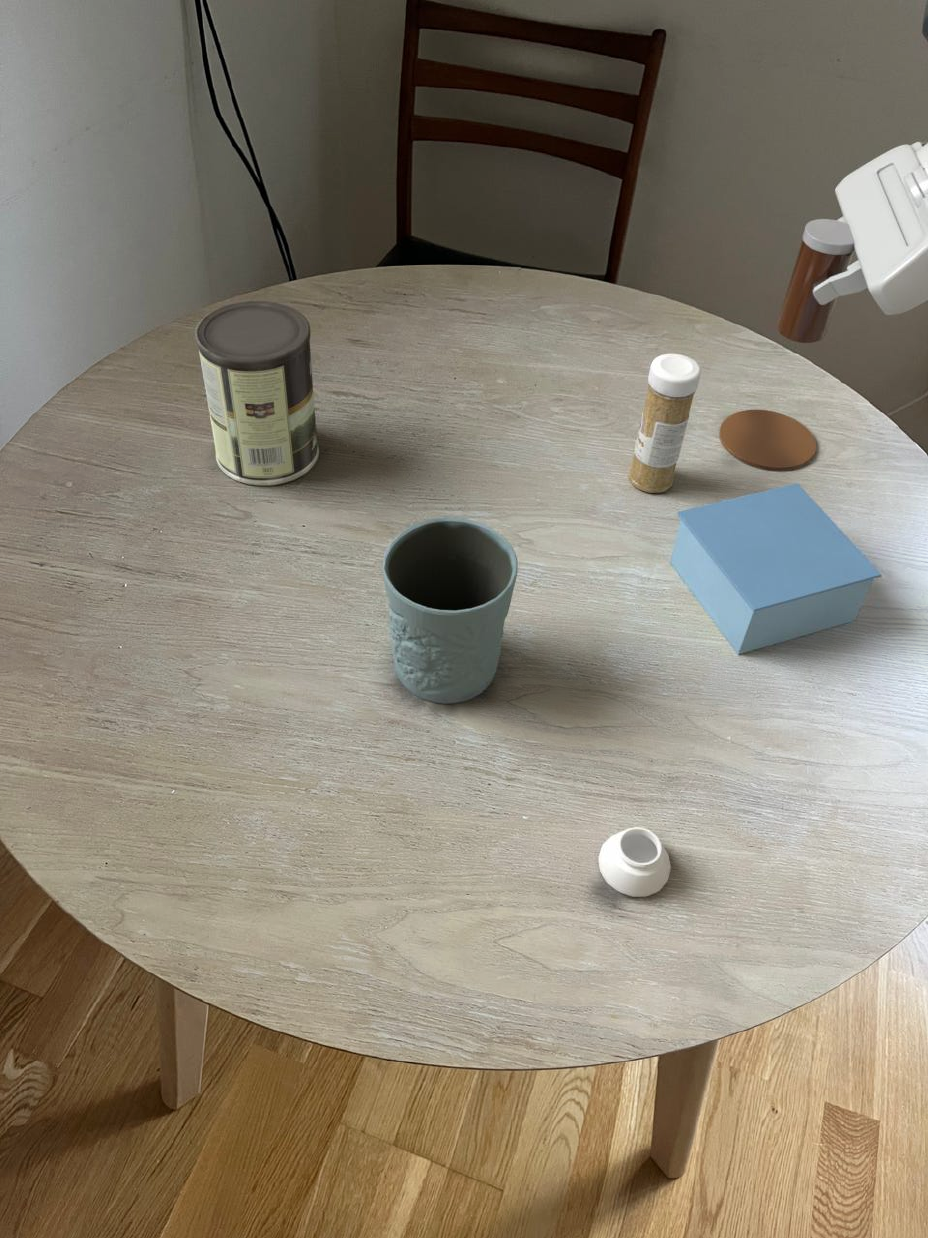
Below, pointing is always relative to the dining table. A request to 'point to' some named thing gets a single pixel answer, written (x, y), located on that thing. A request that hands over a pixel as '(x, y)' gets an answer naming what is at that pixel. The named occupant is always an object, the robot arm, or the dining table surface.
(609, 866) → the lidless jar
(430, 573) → the embossed green cup
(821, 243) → the cylinder
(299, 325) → the coffee can
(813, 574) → the storage box
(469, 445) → the dining table surface
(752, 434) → the brown coaster
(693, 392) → the sprinkles bottle
